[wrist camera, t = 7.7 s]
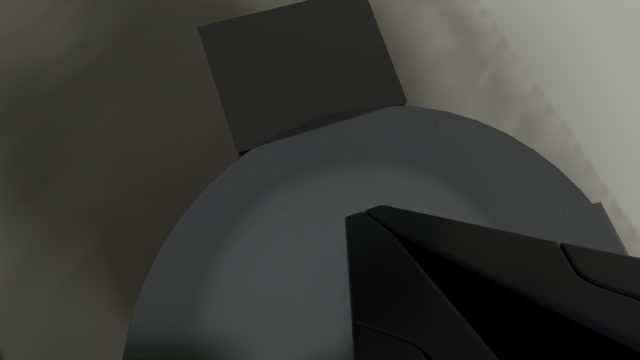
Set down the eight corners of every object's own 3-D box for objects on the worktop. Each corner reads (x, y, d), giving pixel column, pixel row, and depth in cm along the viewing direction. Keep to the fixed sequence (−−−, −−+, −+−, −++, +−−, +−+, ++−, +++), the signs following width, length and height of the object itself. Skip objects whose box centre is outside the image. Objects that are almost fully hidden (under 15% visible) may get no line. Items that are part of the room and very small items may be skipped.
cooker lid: (698, 503, 9) (749, 535, 8) (229, 771, 7) (221, 856, 6) (475, -19, 11) (496, -45, 10) (48, 89, 9) (19, 70, 8)
